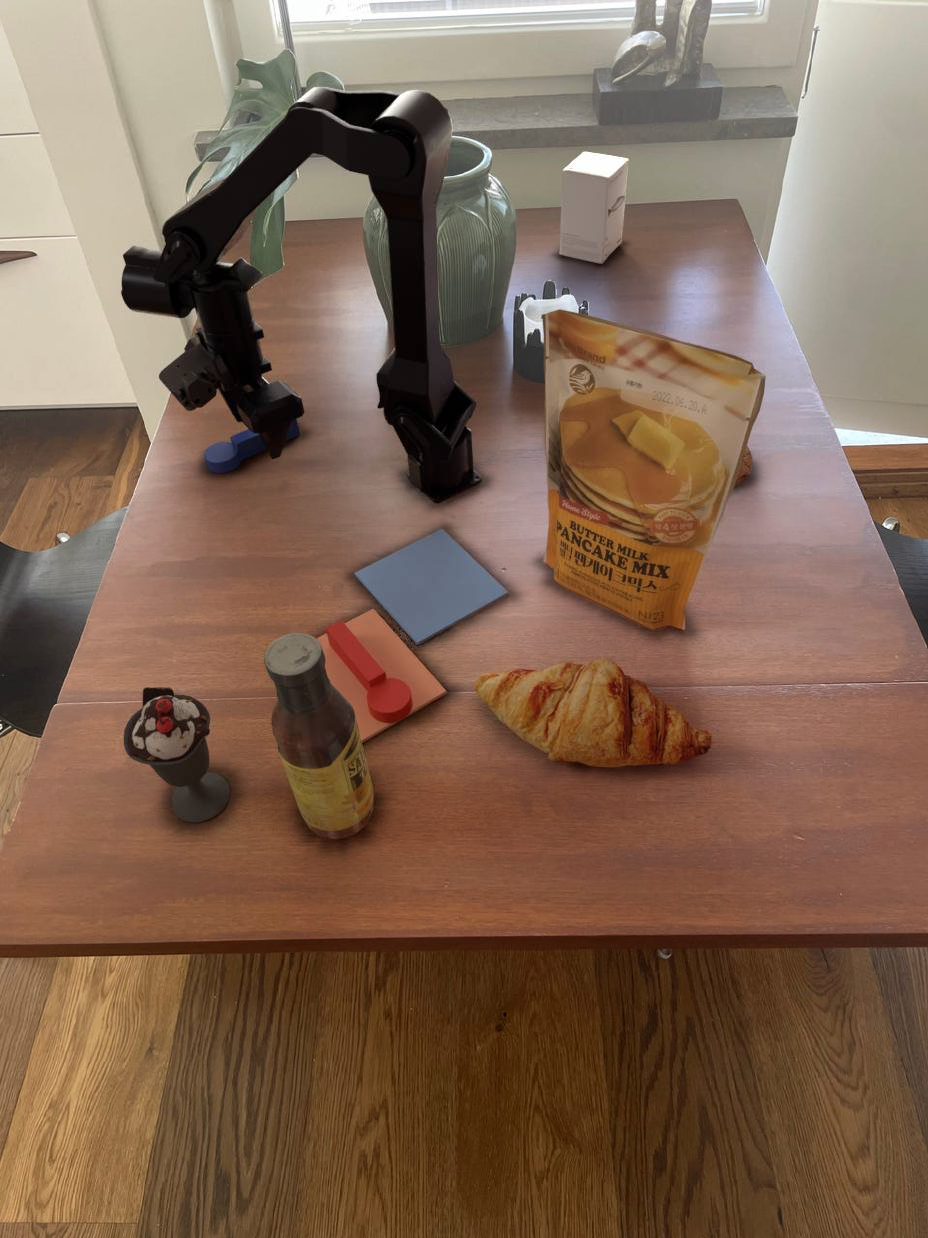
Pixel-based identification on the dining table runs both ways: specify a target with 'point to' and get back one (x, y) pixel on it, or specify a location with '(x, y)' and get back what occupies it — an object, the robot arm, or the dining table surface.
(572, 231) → the white packaging box
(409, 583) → the blue mat
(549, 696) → the croissant
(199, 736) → the sundae
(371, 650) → the red mat
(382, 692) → the red spoon
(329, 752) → the sauce bottle
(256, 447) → the blue spoon
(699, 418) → the pancake mix bag
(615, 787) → the dining table surface
